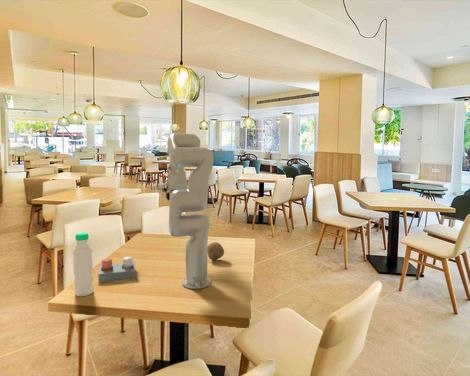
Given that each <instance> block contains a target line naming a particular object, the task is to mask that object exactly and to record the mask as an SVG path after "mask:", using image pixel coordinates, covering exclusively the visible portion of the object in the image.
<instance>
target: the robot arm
mask: <svg viewBox="0 0 470 376" xmlns="http://www.w3.org/2000/svg"><path fill="white" fill-rule="evenodd" d="M166 144H167V152H168V157H169V166H167V167H166V168H167V170H169V171H168V173H167V181H166V182H164V183H162V184H161V185H160V187H161V188H162V190H163V192H165V193H166V194H165V198H166V199H167V201H169V203H168V204H169V206H168V231H169V234H170V236H171V237H174V238H179V237H180V238H181V237H189V238H188V240H187V241H186V243H185V277H184V278H183V279H182V280H181V282H182V283H181V284H182V286H183V287H184V288H186V289H191V290H200V289H204V288H207V287H209V286H210V285H211V283H212V281H211V278H210V277H208V252H207V248H208V245H209V244H208V243H209V241H208V240H209V233H210V227H211V225H210V224H211V221H210V220H211V219H210V217H209V216H208V215H207V214H206V213H200V212H202V211H205V210H206V209H207V206H208V197H209V196H208V195H209V180H210V176H211V173H212V170H213V166H214V153H213V151H212V150H211V149H209V148H207V147H201V139H200V138H199V137H198V135H196V134H193V133H179V132H175V133H171V134H170V135H169V136H168V138H167V143H166ZM185 168H195V169H194V170H193V171H192V172H191V173H190V174H189V176H188V179H187V173H186V171H185ZM166 186H167V188H166ZM170 191H172V192H171V193H170ZM193 212H195V213H193Z"/></svg>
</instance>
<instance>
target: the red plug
mask: <svg viewBox="0 0 470 376" xmlns="http://www.w3.org/2000/svg"><path fill="white" fill-rule="evenodd" d="M112 264H113V259H112V258H103V259H102V260H101V265H102V271H107V270H112Z"/></svg>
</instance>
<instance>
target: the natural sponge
mask: <svg viewBox="0 0 470 376" xmlns="http://www.w3.org/2000/svg"><path fill="white" fill-rule="evenodd" d="M224 255H225V250H224V248H223V245H222V244H221V243H219V242H218V241H217V242H216V241H213V242H211V243H209V244H208V248H207V258H208V259H210V260H212V261H214V262H215V261H217V260H218V259H220V258H222V257H224Z"/></svg>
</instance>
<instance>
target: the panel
mask: <svg viewBox="0 0 470 376" xmlns="http://www.w3.org/2000/svg"><path fill="white" fill-rule="evenodd" d="M98 266H99V267H98V273H97V275H98V276H97V278H98V280H97V281H98V283H99V284H101V283H111V282H119V281H127V280H137V267H136V261H133V268H127V269H123V262H115V263H112V270H107V271H102V264H100V265H98Z"/></svg>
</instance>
